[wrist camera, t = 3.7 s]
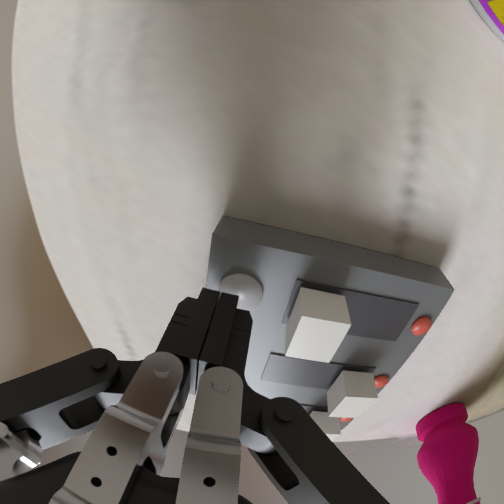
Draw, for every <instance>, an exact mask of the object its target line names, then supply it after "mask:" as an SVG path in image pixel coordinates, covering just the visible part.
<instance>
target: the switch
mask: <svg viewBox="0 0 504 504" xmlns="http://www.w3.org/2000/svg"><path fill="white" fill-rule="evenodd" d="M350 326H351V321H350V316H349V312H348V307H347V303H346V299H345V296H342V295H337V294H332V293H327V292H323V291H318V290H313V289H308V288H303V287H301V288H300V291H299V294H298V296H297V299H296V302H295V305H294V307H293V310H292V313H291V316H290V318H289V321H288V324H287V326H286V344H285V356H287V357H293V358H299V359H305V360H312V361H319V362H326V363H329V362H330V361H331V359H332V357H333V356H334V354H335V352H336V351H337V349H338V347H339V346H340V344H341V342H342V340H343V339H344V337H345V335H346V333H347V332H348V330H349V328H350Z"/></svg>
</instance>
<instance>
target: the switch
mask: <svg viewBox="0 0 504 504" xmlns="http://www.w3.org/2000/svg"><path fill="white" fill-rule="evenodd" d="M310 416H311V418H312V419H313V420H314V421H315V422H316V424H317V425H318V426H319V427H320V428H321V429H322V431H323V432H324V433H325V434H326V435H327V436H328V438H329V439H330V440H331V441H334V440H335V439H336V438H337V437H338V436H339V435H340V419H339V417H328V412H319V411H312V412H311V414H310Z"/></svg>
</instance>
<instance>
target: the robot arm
mask: <svg viewBox="0 0 504 504" xmlns="http://www.w3.org/2000/svg"><path fill="white" fill-rule="evenodd" d="M220 294H221V295H220ZM238 300H239V296H238V295H233V294H229V293H225V292H222V293H221V292H220V291H215V290H211V289H207V288H202V290H201V293H200V295H199V297H198V299H195V298H191V297H187V298H185V299H184V300H183V301H181V302H180V303H179V304H178V306H177V308H176V310H175V312H174V315H173V316H172V318H171V321H170V322H169V324H168V327H167V329H166V331H165V333H164V335H163V337H162V339H161V341H160V343H159V345H158V348H157V349H156V351H155V352H154V353H152V354H150V355H148V356H147V357H146V358H145V359H144V360H141V361H120V360H117V358H116V356H115V355H114V354H113V353H112V352H110V351H109V350H107V349H103V348H95V349H91V350H89V351H86V352H84V353H81V354H79V355H76V356H74V357H71V358H69V359H66V360H63V361H61V362H58V363H56V364H53V365H50V366H48V367H45V368H42V369H40V370H37V371H35V372H32V373H29V374H26V375H24V376H21V377H18V378H16V379H13V380H10V381H7V382H4V383H2V384H0V504H252V503H251V502H250V501H249V500H247V499H246V498H244V497H243V496H241V495H239V494H238V490H239V476H240V462H241V444H242V445H244V446H246V447H247V448H248V450H249V452H250V453H251V455H252V456H253V457H254V459H255V460H256V462H257V463H258V464H259V465H260V467H261V468H262V470H263V471H264V473H265V474H266V475H267V477H268V478H269V479H270V481H271V482H272V483H273V485H274V486H275V487H276V488H277V490H278V491H279V492H280V493H281V495H282V496H283V497H284V498H285V500H286V501H287V502H288V503H289V504H390V503H389V502H388V501H387V500H386V499H385V498H384V497H383V496H381V494H380V493H379V492H378V491H377V490H376V489H375V488H374V487H373V486H372V485H371V484H370V483H369V482H368V481H367V480H366V479H365V478H364V477H363V476H362V474H361V473H360V472H359V471H358V470H357V469H356V468H355V467H354V466H353V465H352V464H351V462H350V461H349V460H348V459H347V458H346V457H345V456H344V455H343V454H342V452H341V451H340V450H339V449H338V448H337V447H336V446H335V445H334V443H333V442H332V441H331V440H330V439H329V438H328V436H327V435H326V434H325V433H324V432H323V431H322V429H321V428H320V427H319V426H318V425H317V424H316V422H315V421H314V420H313V419H312V418H311V416H310V415H309V414H308V413H307V412H306V410H305V409H304V408H303V407H302V406H301V405H300V404H299V403H298V402H297V401H295V400H294V399H291V398H288V397H276V398H273V399H269V398H267V397H265V396H263V395H261V394H259V393H257V392H255V391H254V390H253V389H252V388H251V387H250V386H249V385H248V384H247V382H246V379H245V366H246V360H247V354H248V348H249V342H250V336H251V330H252V324H253V320H252V317H251V314H250V311H247V310H242V309H238V308H237V305H238ZM196 390H197V395H196V400H195V405H194V410H193V416H192V421H191V426H190V431H189V434H188V437H187V441H186V446H185V452H184V458H183V463H182V469H181V474H180V478H169V477H161V476H160V473H161V470H162V468H163V466H164V462H165V458H166V453H167V449H168V447H169V444H170V442H171V439H172V437H173V435H174V432H175V430H176V427H177V425H178V422H179V420H180V418H181V415H182V413H183V410H184V406H185V403H186V400H187V397H188V394H192V395H195V393H196ZM91 430H93V432H92V433H91V435H90V437H89V439H88V441H87V443H86V444H85V446H84V448H83V450H82V451H80V452H76V453H72V454H69V455H67V456H65V457H63V458H60V459H58V460H56V461H53V462H51V463H48V464H46V465H43V466H41V467H38V468H36V469H33V470H31V469H32V468H33V467H35V466H36V465H38V464H40V463H41V462H42V450H44V449H47V448H49V447H52V446H55V445H57V444H60V443H62V442H65V441H67V440H70V439H72V438H75V437H77V436H80V435H82V434H84V433H87V432H89V431H91ZM30 470H31V471H30Z"/></svg>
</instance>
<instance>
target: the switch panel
mask: <svg viewBox="0 0 504 504" xmlns="http://www.w3.org/2000/svg"><path fill="white" fill-rule="evenodd" d="M301 287H303V288H308V289H313V290H318V291H323V292H327V293H332V294H337V295H342V296H345V299H346V303H347V307H348V312H349V316H350V321H351V326H350V328H349V330H348V332H347V333H346V335H345V337H344V339H343V340H342V342H341V344H340V346H339V347H338V349H337V351H336V352H335V354H334V356H333V357H332V359H331V361H330V362H329V363H326V362H319V361H312V360H305V359H299V358H293V357H287V356H285V344H286V326H287V324H288V321H289V318H290V316H291V313H292V310H293V307H294V305H295V302H296V299H297V296H298V294H299V291H300V288H301ZM206 288H207V289H211V290H215V291H220V292H221V293H222V292H225V293H229V294H233V295H238V296H239V300H238V305H237V308H238V309H242V310H247V311H250V314H251V317H252V320H253V324H252V330H251V336H250V342H249V348H248V354H247V360H246V366H245V379H246V382H247V384H248V385H249V386H250V387H251V388H252V389H253V390H254V391H255V392H257V393H259V394H261V395H263V396H265V397H267V398H269V399H273V398H276V397H288V398H291V399H294V400H295V401H297V402H298V403H299V404H300V405H301V406H302V407H303V408H304V409H305V410H306V412H307V413H308V414H309V415H310V414H311V412H312V411H319V412H328V402H327V392H328V390H329V389H330V387H331V386H332V385H333V383H334V382H335V381H336V379H337V378H338V376H339V375H340V373H341V372H342V371H343V370H345V371H354V372H365V373H373V375H374V380H375V386H376V391H377V394H378V393H379V392H380V391H381V390H382V389H383V388H384V386H385V385H386V384H387V383H388V382H389V381H390V380H391V378H392V377H393V376H394V375H395V374H396V372H397V371H398V370H399V369H400V368H401V366H402V365H403V364H404V363H405V361H406V360H407V359H408V358H409V356H410V355H411V354H412V352H413V351H414V350H415V348H416V347H417V346H418V344H419V343H420V342H421V340H422V339H423V338H424V336H425V335H426V333H427V332H428V330H429V329H430V328H431V326H432V325H433V323H434V322H435V320H436V319H437V317H438V316H439V314H440V312H441V311H442V309H443V308H444V306H445V305H446V303H447V301H448V300H449V298H450V296H451V295H452V293H453V291H454V288H453V287H452V285H451V284H450V282H449V281H448V280H447V278H446V277H445V275H444V274H443V273H442V271H441V270H440V269H439V268H436V267H432V266H428V265H425V264H421V263H418V262H414V261H410V260H406V259H403V258H399V257H395V256H391V255H387V254H383V253H380V252H376V251H372V250H368V249H364V248H360V247H356V246H352V245H348V244H344V243H340V242H336V241H331V240H327V239H323V238H319V237H315V236H310V235H306V234H302V233H298V232H293V231H289V230H284V229H280V228H276V227H271V226H267V225H262V224H258V223H253V222H248V221H244V220H239V219H234V218H230V217H225V216H222V218H221V220H220V222H219V223H218V225H217V227H216V229H215V230H214V232H213V234H212V240H211V248H210V257H209V265H208V274H207V283H206ZM220 295H221V294H220ZM339 419H340V430H342V429H343V428H344V427H346V426H347V425H348V424H349V423H350V422H351V421H352V420H353V419H354V418H344V417H339Z"/></svg>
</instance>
